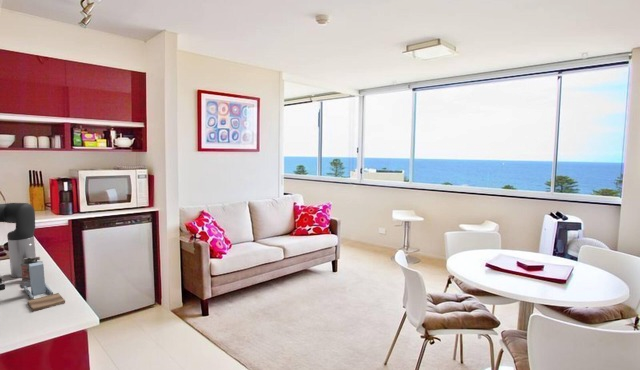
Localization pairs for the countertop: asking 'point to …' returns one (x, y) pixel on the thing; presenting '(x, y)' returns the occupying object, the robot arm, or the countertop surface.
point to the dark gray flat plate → (26, 284)
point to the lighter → (26, 267)
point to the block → (37, 278)
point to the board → (46, 302)
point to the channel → (32, 295)
